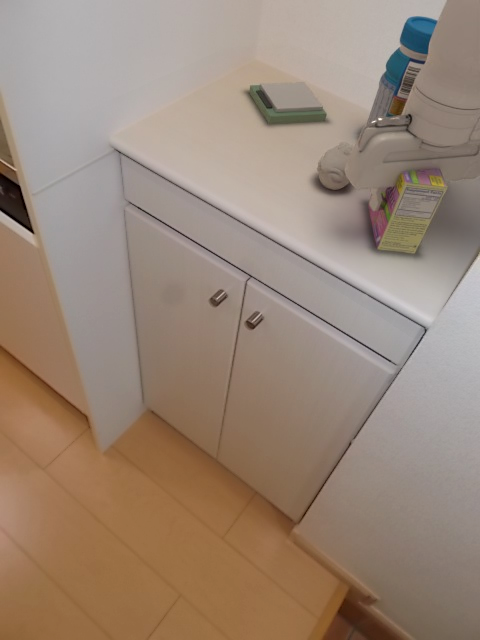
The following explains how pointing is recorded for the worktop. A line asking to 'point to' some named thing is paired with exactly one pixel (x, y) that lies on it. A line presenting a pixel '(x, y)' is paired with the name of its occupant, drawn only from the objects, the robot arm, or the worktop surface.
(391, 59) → the beverage bottle
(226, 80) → the worktop surface
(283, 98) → the scale
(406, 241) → the box
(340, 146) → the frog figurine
